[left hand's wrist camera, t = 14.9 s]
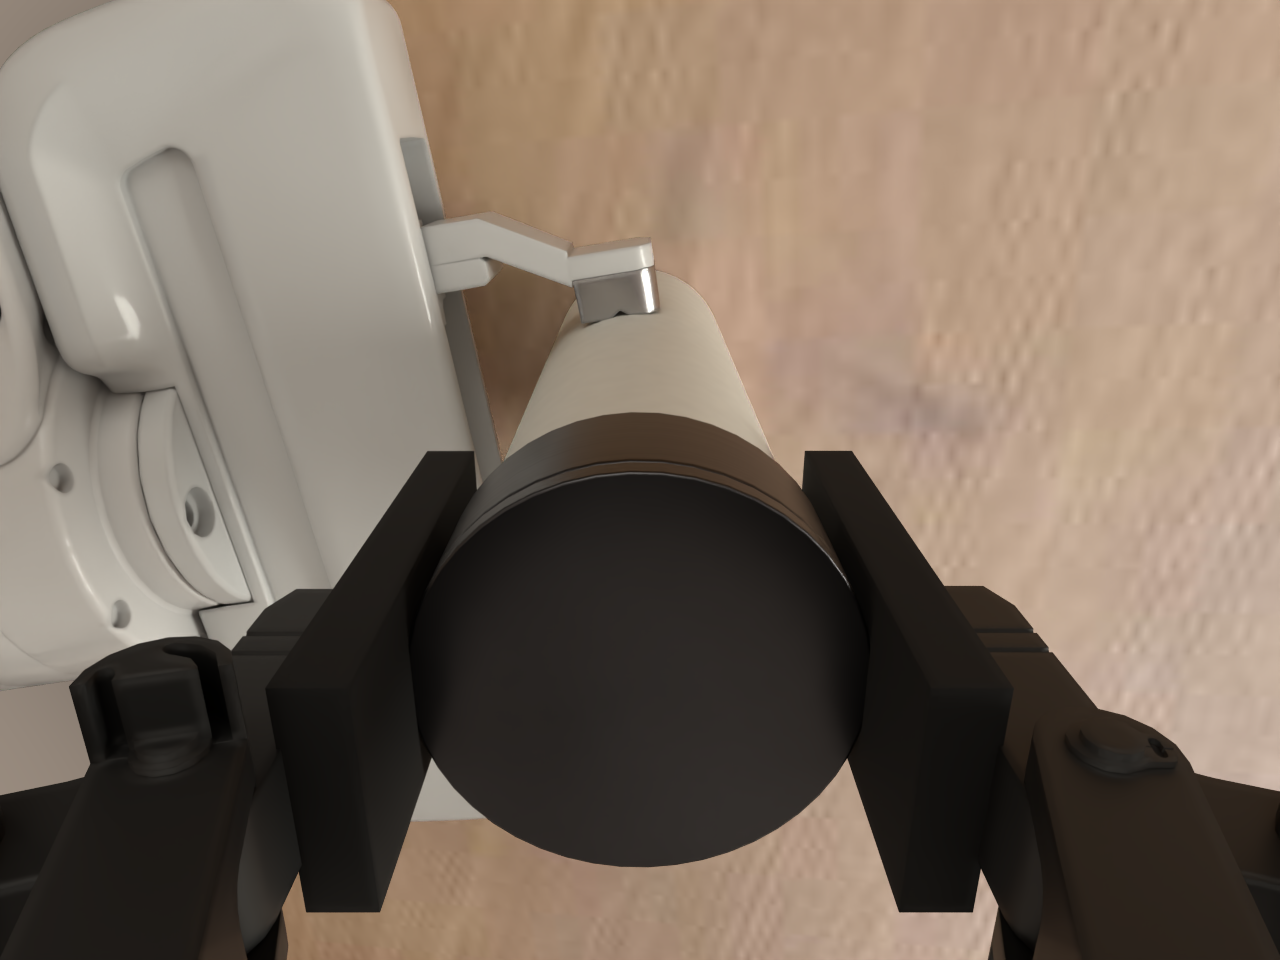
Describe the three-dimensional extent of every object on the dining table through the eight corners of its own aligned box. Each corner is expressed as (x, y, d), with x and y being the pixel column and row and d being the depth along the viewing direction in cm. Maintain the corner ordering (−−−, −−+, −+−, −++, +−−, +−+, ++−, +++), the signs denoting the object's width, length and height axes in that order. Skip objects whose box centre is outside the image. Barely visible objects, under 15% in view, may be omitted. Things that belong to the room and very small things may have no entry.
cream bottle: (688, 447, 28) (752, 853, 12) (539, 399, 27) (399, 759, 11) (744, 299, 26) (906, 544, 10) (586, 244, 26) (498, 415, 10)
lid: (913, 553, 12) (971, 641, 10) (681, 809, 14) (688, 931, 12) (586, 328, 11) (573, 372, 9) (376, 636, 13) (322, 736, 10)
